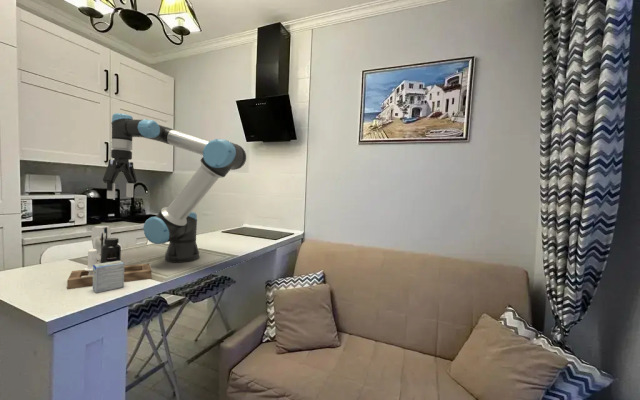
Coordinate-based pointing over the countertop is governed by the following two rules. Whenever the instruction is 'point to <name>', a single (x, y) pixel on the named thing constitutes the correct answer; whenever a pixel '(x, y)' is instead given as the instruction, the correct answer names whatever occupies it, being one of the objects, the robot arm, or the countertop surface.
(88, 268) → the candle
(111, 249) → the supplement bottle
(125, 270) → the rack block
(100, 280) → the medicine box
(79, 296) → the countertop surface
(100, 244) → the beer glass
